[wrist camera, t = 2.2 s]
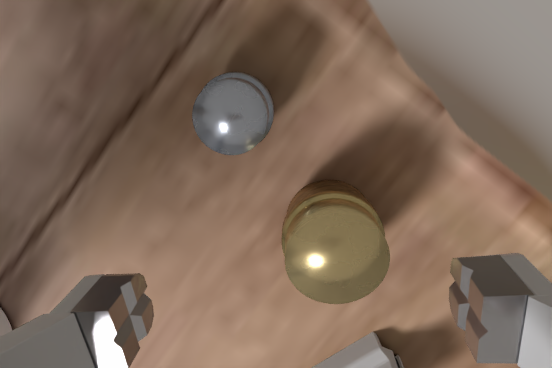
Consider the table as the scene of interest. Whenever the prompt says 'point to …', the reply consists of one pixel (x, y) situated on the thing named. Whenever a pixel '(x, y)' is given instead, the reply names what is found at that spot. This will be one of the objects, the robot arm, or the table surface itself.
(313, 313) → the table surface
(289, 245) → the cylinder
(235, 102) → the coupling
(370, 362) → the grey bevelled device
